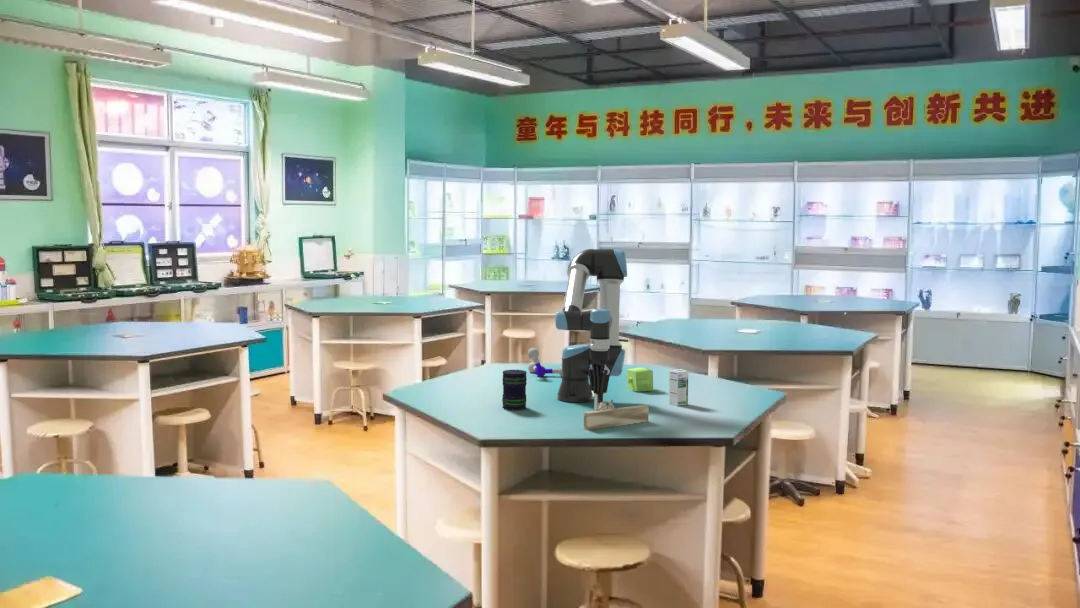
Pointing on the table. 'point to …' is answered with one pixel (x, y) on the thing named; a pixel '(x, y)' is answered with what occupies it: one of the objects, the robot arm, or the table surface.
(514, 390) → the storage jar
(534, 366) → the molecular model
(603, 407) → the game die
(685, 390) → the syrup box
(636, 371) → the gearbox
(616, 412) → the birch board
